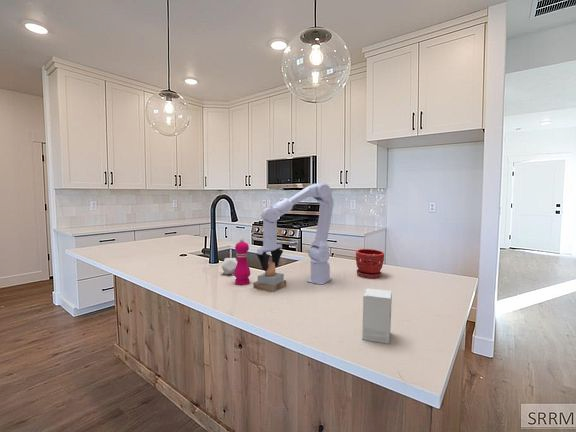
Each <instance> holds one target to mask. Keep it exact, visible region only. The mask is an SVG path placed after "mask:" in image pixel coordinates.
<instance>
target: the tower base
mask: <svg viewBox="0 0 576 432" xmlns="http://www.w3.org/2000/svg"><path fill="white" fill-rule="evenodd" d="M285 287H287V279H286V280H284V281H282V282H280V283H278V284H276V285H274V286H272V285H266V284H261V283H258V280H256V281H254V282H253V289H255V290H260V291H265V292H269V293H274V292H276V291H279V290H281V289H283V288H285Z"/></svg>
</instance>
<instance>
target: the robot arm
mask: <svg viewBox="0 0 576 432" xmlns="http://www.w3.org/2000/svg"><path fill="white" fill-rule="evenodd" d="M332 193H333V189H332V187H330V185H329V184H328V183H327V182H321V183H312V184H311V185H307V186H305V187H304V188H303V189H302V190H300V191H298V192H297V193H296V194H294V195H292V196H291V197H290V198H287V197H284V198H283V197H281V198H279V201H277V202H276V203H274V204H270V207H266V208H264V209H263V210H262V212H261V214H260V216H261V219H262V223H263V225H262V233H263V234H262V236H263V237H262V241H263V242H262V244H263V245H261V247H260V248H257V249H256V250H257V252H256V256H257V258H258V260H259V263H260V265H261V269H262V271H264V272H265V271H267V269H268V262H269V260H270V256H271V260H272V261H271V262H275V268H278V267H279V262H280V258H281V256H282V254H283V252H284V250H283V244H281V243H278V236H277V235H278V231H277V230H278V228H277V227H278V225H277V221H278V220H279V218H280V217H282V216H283V215H285V214H287V213H288V212H290V211H292V210H293V206H294V205H296V204H298V203H300V202H302V201H303V200H305V199H307V198H311V197H312V198H313V199H315V200H316V201H317V202H318V204H319V206H320V207H319V214H318V215H319V216H318V221H317V226H316V232H315V237H314V239H313V241H312V242H311V244H310V247H309V249H308V253H307V255H308V256H309V258H310V278H308V279H307V280H306V282H307V283H314V284H318V285H324V284H326V283H328V282H330V281H331V280H332V278H331V277H330V276H331V271H330V270H331V266H330V263H329V262H328V261H329V259H330V256H331V255H330V246H329V243H328V236H329V232H330V226H331V220H332V214H333V209H334V204H335V203H334V199H333V195H332ZM269 252H270V254H269Z"/></svg>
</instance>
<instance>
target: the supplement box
mask: <svg viewBox="0 0 576 432" xmlns="http://www.w3.org/2000/svg"><path fill="white" fill-rule="evenodd" d="M392 292H393V291H392V290H389V289H388V290H387V289H378V288H366V289H365V290H364V294H363V297H362V300H363V301H362V332H361V333H362V335H361V337H362V340H365V341H370V342H376V343H382V344H390V337H391V328H392V326H391V325H392V301H393V298H392V297H393V294H392Z"/></svg>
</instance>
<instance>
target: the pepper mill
mask: <svg viewBox="0 0 576 432" xmlns="http://www.w3.org/2000/svg"><path fill="white" fill-rule="evenodd" d="M249 249H250V247H249V244H248V243H247V242H245V240H244V238H240V239H239V242H237V243H236V244H235V246H234V250H235V251H236V253H235V255H236V260H237V265H236V268H235V271H234V277H235V279H234V280H235V285H237V284H238V286H244V285H245V284H246V285H248V283H249V284H250V278H249V277H250V276H251V269H250V267H249V264H248V258H247V257H248V252H249ZM246 285H245V286H246Z"/></svg>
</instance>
